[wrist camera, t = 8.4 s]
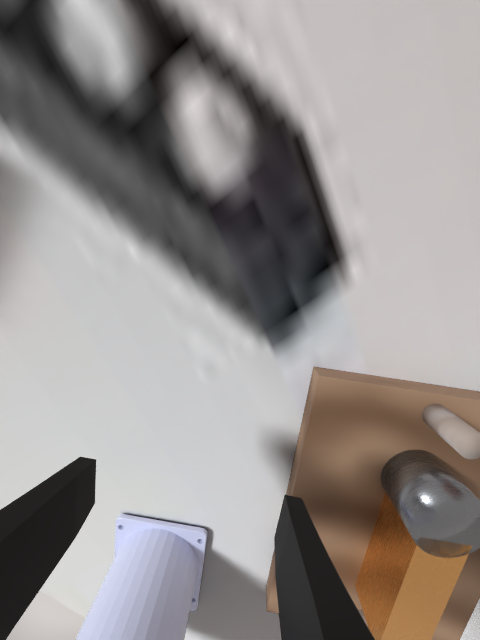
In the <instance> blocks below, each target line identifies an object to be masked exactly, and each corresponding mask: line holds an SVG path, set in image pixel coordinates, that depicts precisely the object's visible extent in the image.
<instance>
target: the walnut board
mask: <svg viewBox="0 0 480 640" xmlns="http://www.w3.org/2000/svg"><path fill="white" fill-rule="evenodd" d="M407 450H424V451H428V452H430V453H432V454H434V455H436V456H437V457H438V458H439V459H440V460H441V461H442V462H443V463H444V464H445V465H446V466H447V467H448V468H449V469H450V470H451V471H452V472H453V473H454V474H455V475H456V476H457V477H458V478H459V479H460V480H461V481H462V482H463V484H464V485H465V486H466V487H467V488H468V489H469V490H470V491H471V492H472V493H473V494H474V495H475V496H476V497H477V498H478V499H479V500H480V392H478V391H472V390H465V389H458V388H452V387H445V386H439V385H432V384H425V383H419V382H412V381H405V380H399V379H392V378H385V377H379V376H372V375H366V374H359V373H352V372H346V371H339V370H332V369H326V368H319V367H314V368H313V372H312V377H311V382H310V386H309V391H308V396H307V400H306V405H305V409H304V414H303V419H302V423H301V428H300V433H299V437H298V442H297V447H296V451H295V456H294V461H293V465H292V470H291V475H290V479H289V484H288V489H287V493H286V495H289V496H294V497H299V498H302V500H303V501H304V503H305V506H306V508H307V510H308V513H309V515H310V517H311V519H312V521H313V524H314V526H315V528H316V530H317V532H318V534H319V536H320V538H321V541H322V543H323V545H324V547H325V549H326V551H327V553H328V555H329V557H330V559H331V561H332V563H333V564H334V566H335V568H336V570H337V572H338V574H339V576H340V578H341V580H342V582H343V584H344V586H345V587H346V589H347V591H348V593H349V595H350V597H351V598H352V600H353V602H354V604H355V606H356V607H357V609H358V611H359V613H360V614H361V616H362V618H363V620H364V621H365V623H366V625H367V622H366V619H365V616H364V613H363V610H362V606H361V603H360V600H359V597H358V594H357V591H356V587H355V585H356V582H357V579H358V576H359V572H360V569H361V566H362V563H363V560H364V557H365V554H366V551H367V548H368V544H369V541H370V538H371V535H372V532H373V529H374V526H375V523H376V520H377V516H378V513H379V510H380V507H381V504H382V501H383V498H384V495H385V490H384V488H383V486H382V484H381V472H382V469H383V467H384V465H385V464H386V463H387V461H388V460H389V459H391V458H392V457H393V456H395V455H396V454H398V453H401V452H403V451H407ZM479 598H480V548H479V549H477V550H476V551H474V552H472V553H470V554H469V555H468V557H467V560H466V562H465V564H464V566H463V569H462V571H461V573H460V575H459V578H458V580H457V582H456V584H455V587H454V589H453V591H452V593H451V596H450V598H449V600H448V603H447V605H446V607H445V609H444V612H443V614H442V616H441V618H440V621H439V623H438V625H437V627H436V630H435V632H434V634H433V637H432V639H431V640H460V638H461V636H462V634H463V631H464V629H465V627H466V625H467V623H468V621H469V619H470V617H471V615H472V613H473V611H474V608H475V606H476V604H477V602H478V600H479ZM266 604H267V611H269V612H274V613H279V609H278V598H277V588H276V578H275V549H274V554H273V558H272V563H271V568H270V572H269V577H268V582H267V586H266ZM367 627H368V626H367Z"/></svg>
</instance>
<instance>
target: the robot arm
mask: <svg viewBox="0 0 480 640" xmlns="http://www.w3.org/2000/svg"><path fill="white" fill-rule="evenodd" d="M95 475H96V460H95V459H90V458H84V457H79V458H78V459H76V460H75V461H73V462H72V463H70V464H69V465H67V466H66V467H64V468H63V469H61V470H60V471H58V472H57V473H55V474H54V475H52V476H51V477H49V478H48V479H47V480H45V481H44V482H42V483H41V484H39V485H38V486H36V487H35V488H33V489H32V490H30V491H29V492H27V493H26V494H24V495H22V496H21V497H19V498H18V499H16V500H15V501H13V502H12V503H10V504H9V505H7V506H6V507H4V508H3V509H1V510H0V640H6V639H7V637H8V636H9V634H10V633H11V631H12V629H13V628H14V626H15V625H16V623H17V622H18V621H19V619H20V618H21V616H22V615H23V613H24V612H25V610H26V609H27V607H28V606H29V604H30V603H31V602H32V600H33V599H34V597H35V596H36V594H37V593H38V591H39V590H40V589H41V587H42V586H43V584H44V583H45V581H46V580H47V578H48V577H49V575H50V574H51V573H52V571H53V570H54V568H55V567H56V565H57V564H58V562H59V561H60V559H61V558H62V557H63V555H64V554H65V552H66V551H67V549H68V548H69V546H70V545H71V543H72V542H73V540H74V539H75V537H76V536H77V534H78V532H79V530H80V529H81V527H82V525H83V523H84V522H85V520H86V518H87V516H88V514H89V513H90V511H91V509H92V507H93V505H94V504H95ZM206 540H207V531H206V529H204V528H200V527H194V526H188V525H183V524H177V523H171V522H166V521H160V520H154V519H148V518H143V517H137V516H131V515H125V514H121V515H119V516H118V517H117V519H116V531H115V559H114V561H113V563H112V565H111V567H110V569H109V571H108V573H107V575H106V577H105V579H104V581H103V583H102V585H101V587H100V589H99V591H98V594H97V596H96V598H95V600H94V602H93V604H92V606H91V608H90V610H89V612H88V614H87V616H86V618H85V620H84V622H83V625H82V627H81V629H80V631H79V633H78V635H77V637H76V639H75V640H184V638H185V633H186V628H187V623H188V617H189V612H190V611H195V610H197V606H198V600H199V592H200V585H201V577H202V570H203V563H204V555H205V548H206ZM275 578H276V588H277V598H278V609H279V618H280V628H281V638H282V640H375V639H374V637H373V635H372V633H371V632H370V630H369V628H368V627H367V625H366V623H365V621H364V620H363V618H362V616H361V614H360V613H359V611H358V609H357V607H356V606H355V604H354V602H353V600H352V598H351V597H350V595H349V593H348V591H347V589H346V587H345V586H344V584H343V582H342V580H341V578H340V576H339V574H338V572H337V570H336V568H335V566H334V564H333V563H332V561H331V559H330V557H329V555H328V553H327V551H326V549H325V547H324V545H323V543H322V541H321V538H320V536H319V534H318V532H317V530H316V528H315V526H314V524H313V521H312V519H311V517H310V515H309V513H308V510H307V508H306V506H305V503H304V501H303V500H302V498H299V497H294V496H289V495H285V496H284V500H283V504H282V509H281V513H280V517H279V521H278V525H277V529H276V534H275Z"/></svg>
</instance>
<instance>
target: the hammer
mask: <svg viewBox="0 0 480 640" xmlns="http://www.w3.org/2000/svg"><path fill="white" fill-rule="evenodd" d="M381 484H382V486H383V488H384V490H385V495H384V498H383V501H382V504H381V507H380V510H379V513H378V516H377V520H376V523H375V526H374V529H373V532H372V535H371V538H370V541H369V544H368V548H367V551H366V554H365V557H364V560H363V563H362V566H361V569H360V572H359V576H358V579H357V582H356V585H355V587H356V591H357V594H358V597H359V600H360V603H361V606H362V610H363V613H364V616H365V619H366V622H367V626H368V628H369V630H370V632H371V633H372V635H373V637H374V639H375V640H431V639H432V637H433V634H434V632H435V630H436V627H437V625H438V623H439V621H440V618H441V616H442V614H443V612H444V609H445V607H446V605H447V603H448V600H449V598H450V596H451V593H452V591H453V589H454V587H455V584H456V582H457V580H458V578H459V575H460V573H461V571H462V569H463V566H464V564H465V562H466V560H467V557H468V555H469V554H470V553H472V552H474V551H476V550H477V549H479V548H480V500H479V499H478V498H477V497H476V496H475V495H474V494H473V493H472V492H471V491H470V490H469V489H468V488H467V487H466V486H465V485H464V484H463V482H462V481H461V480H460V479H459V478H458V477H457V476H456V475H455V474H454V473H453V472H452V471H451V470H450V469H449V468H448V467H447V466H446V465H445V464H444V463H443V462H442V461H441V460H440V459H439V458H438V457H437V456H436V455H434V454H432V453H430V452H428V451H424V450H407V451H403V452H401V453H398V454H396V455H395V456H393V457H392V458H391V459H389V460H388V461H387V463H386V464H385V465H384V467H383V469H382V472H381Z"/></svg>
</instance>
